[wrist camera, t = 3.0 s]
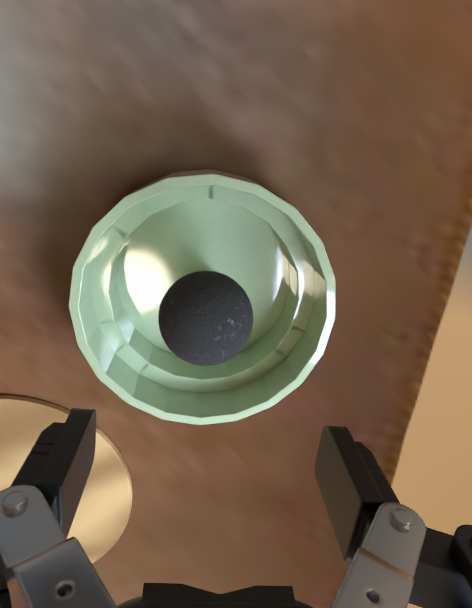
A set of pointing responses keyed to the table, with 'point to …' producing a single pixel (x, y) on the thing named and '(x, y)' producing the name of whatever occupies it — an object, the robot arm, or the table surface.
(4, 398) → the disc
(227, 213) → the bowl
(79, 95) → the table surface
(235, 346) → the light bulb
